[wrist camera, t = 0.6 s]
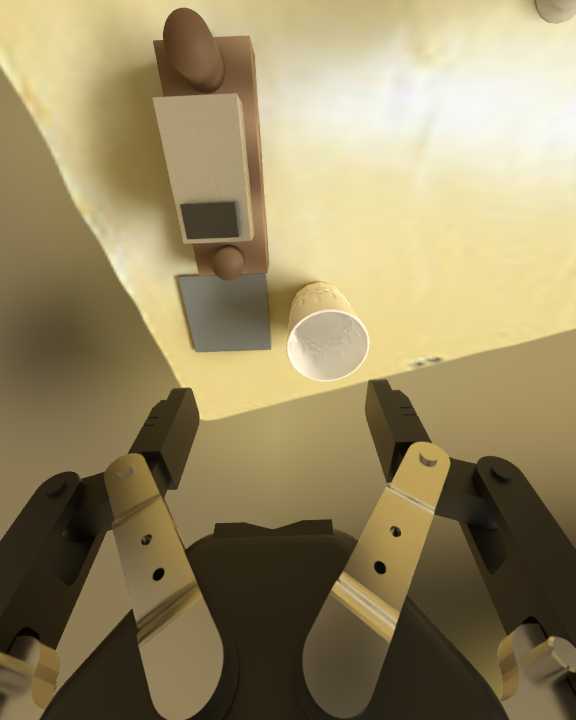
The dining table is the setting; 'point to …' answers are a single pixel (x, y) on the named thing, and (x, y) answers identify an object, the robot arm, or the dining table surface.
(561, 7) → the chalice
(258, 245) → the plane body
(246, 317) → the slate mat
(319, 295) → the white cup
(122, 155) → the dining table surface
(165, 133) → the lever cap
